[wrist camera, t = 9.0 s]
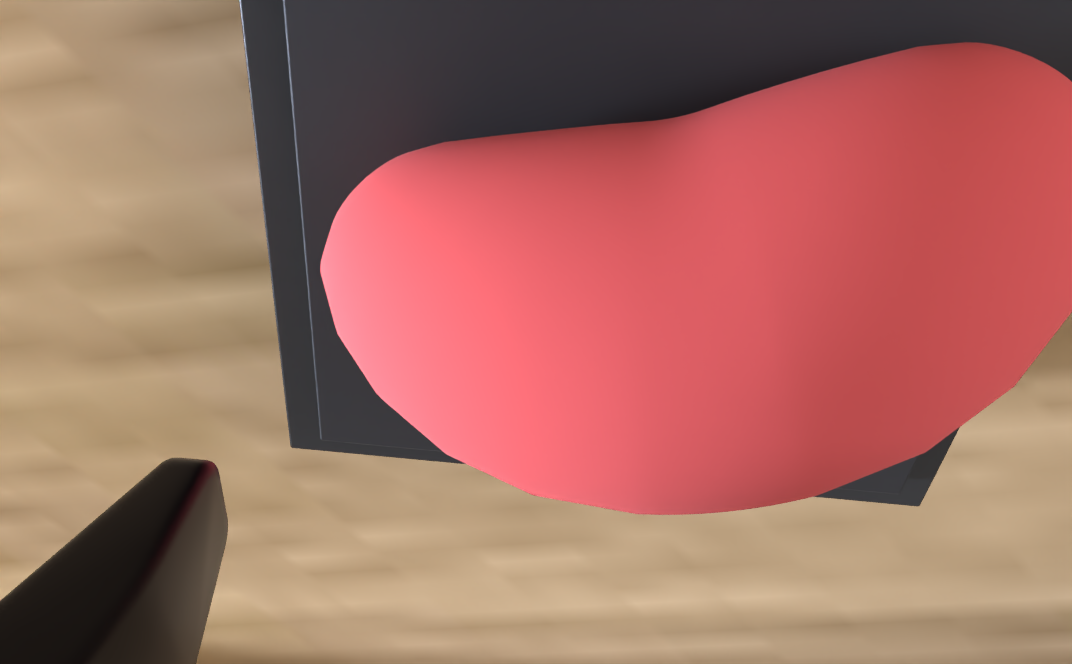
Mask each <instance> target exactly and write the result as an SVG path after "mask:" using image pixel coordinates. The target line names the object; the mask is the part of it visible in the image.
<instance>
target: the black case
mask: <svg viewBox="0 0 1072 664" xmlns="http://www.w3.org/2000/svg"><path fill="white" fill-rule="evenodd" d="M239 2H240V11H241V20H242V28H243V37H244V46H245V54H246V63H247V72H248V80H249V89H250V98H251V107H252V115H253V124H254V133H255V141H256V150H257V159H258V167H259V176H260V185H261V193H262V202H263V211H264V219H265V228H266V237H267V246H268V254H269V263H270V272H271V280H272V289H273V298H274V306H275V315H276V324H277V332H278V341H279V350H280V358H281V367H282V376H283V385H284V393H285V402H286V411H287V419H288V428H289V437H290V445H291V447H292V448H300V449H311V450H321V451H332V452H343V453H353V454H364V455H375V456H386V457H396V458H407V459H418V460H428V461H439V462H450V463H460V464H466V463H464V462H462V461H459V460H457V459H455V458H453V457H451V456H449V455H447V454H445V453H444V452H443V451H442V450H441V449H439V448H438V447H437V446H436V445H435V444H434V443H432V442H431V441H430V440H429V439H428V438H427V437H425V436H424V435H423V434H422V433H421V432H420V431H418V430H417V429H416V428H415V427H414V426H413V425H411V424H410V423H409V422H408V421H407V420H406V419H404V418H403V417H402V416H401V415H400V414H399V413H397V412H396V411H395V410H394V409H393V408H392V407H390V406H389V405H388V404H387V403H386V402H385V401H383V400H382V399H381V398H380V397H379V395H378V394H377V393H376V392H375V391H374V389H373V388H372V386H371V384H370V383H369V381H368V380H367V378H366V377H365V375H364V374H363V372H362V371H361V369H360V368H359V366H358V365H357V363H356V361H355V360H354V358H353V357H352V355H351V354H350V352H349V351H348V349H347V348H346V346H345V345H344V343H343V342H342V340H341V338H340V337H339V335H338V334H337V330H336V327H335V324H334V320H333V317H332V313H331V309H330V306H329V302H328V298H327V295H326V291H325V287H324V283H323V280H322V276H321V272H320V269H321V259H322V256H323V252H324V248H325V245H326V242H327V239H328V236H329V233H330V229H331V226H332V223H333V220H334V218H335V216H336V214H337V212H338V210H339V209H340V207H341V205H342V204H343V202H344V201H345V200H346V198H347V197H348V196H349V194H350V193H351V192H352V191H353V190H354V189H355V188H356V187H357V186H358V185H359V184H360V183H361V182H362V181H363V180H364V179H365V178H366V177H367V176H368V175H370V174H371V173H372V172H373V171H375V170H376V169H377V168H379V167H380V166H382V165H383V164H385V163H386V162H388V161H390V160H392V159H394V158H395V157H397V156H400V155H402V154H405V153H408V152H411V151H414V150H418V149H421V148H425V147H428V146H432V145H435V144H439V143H443V142H449V141H457V140H465V139H473V138H481V137H489V136H498V135H507V134H517V133H526V132H535V131H545V130H555V129H564V128H575V127H585V126H595V125H606V124H618V123H631V122H644V121H655V120H663V119H669V118H674V117H679V116H684V115H687V114H691V113H695V112H698V111H701V110H704V109H707V108H710V107H713V106H716V105H719V104H721V103H724V102H727V101H730V100H733V99H736V98H739V97H742V96H745V95H748V94H751V93H754V92H757V91H760V90H763V89H767V88H770V87H773V86H776V85H779V84H782V83H786V82H789V81H792V80H796V79H799V78H802V77H806V76H809V75H813V74H816V73H819V72H823V71H826V70H830V69H833V68H837V67H841V66H844V65H848V64H852V63H855V62H859V61H862V60H866V59H870V58H874V57H878V56H882V55H886V54H890V53H894V52H898V51H902V50H906V49H910V48H914V47H919V46H928V45H939V44H951V43H964V42H973V43H985V44H992V45H996V46H1001V47H1005V48H1008V49H1012V50H1015V51H1018V52H1021V53H1023V54H1026V55H1028V56H1031V57H1033V58H1035V59H1037V60H1039V61H1041V62H1044V63H1046V64H1047V65H1049V66H1051V67H1052V68H1054V69H1056V70H1057V71H1059V72H1060V73H1062V74H1063V75H1064V76H1065V77H1067V78H1068V79H1069V80H1070V81H1071V82H1072V0H239ZM958 429H959V428H958ZM958 429H956V430H955V431H954V432H952V433H951V434H949V435H948V436H947V437H945V438H944V439H943V440H941V441H940V442H939V443H937V444H936V445H935V446H933V447H932V448H931V449H929V450H928V451H927V452H925V453H923V454H920V455H918V456H915V457H913V458H910V459H908V460H905V461H903V462H900V463H898V464H895V465H893V466H890V467H888V468H885V469H883V470H880V471H878V472H875V473H873V474H870V475H868V476H865V477H863V478H860V479H858V480H855V481H853V482H850V483H848V484H845V485H843V486H840V487H838V488H835V489H833V490H830V491H828V492H825V493H823V494H820V495H817V496H813V497H824V498H835V499H845V500H856V501H867V502H878V503H888V504H899V505H910V506H919V505H920V504H921V502H922V500H923V498H924V496H925V494H926V492H927V490H928V488H929V486H930V484H931V482H932V480H933V479H934V477H935V475H936V473H937V471H938V469H939V467H940V465H941V463H942V461H943V459H944V457H945V455H946V453H947V451H948V449H949V447H950V445H951V443H952V441H953V439H954V437H955V435H956V433H957V431H958Z"/></svg>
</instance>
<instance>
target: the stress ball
mask: <svg viewBox="0 0 1072 664" xmlns="http://www.w3.org/2000/svg"><path fill="white" fill-rule="evenodd" d="M320 272H321V276H322V280H323V283H324V287H325V291H326V295H327V298H328V302H329V306H330V309H331V313H332V317H333V320H334V324H335V327H336V330H337V334H338V335H339V337H340V338H341V340H342V342H343V343H344V345H345V346H346V348H347V349H348V351H349V352H350V354H351V355H352V357H353V358H354V360H355V361H356V363H357V365H358V366H359V368H360V369H361V371H362V372H363V374H364V375H365V377H366V378H367V380H368V381H369V383H370V384H371V386H372V388H373V389H374V391H375V392H376V393H377V394H378V395H379V397H380V398H381V399H382V400H383V401H385V402H386V403H387V404H388V405H389V406H390V407H392V408H393V409H394V410H395V411H396V412H397V413H399V414H400V415H401V416H402V417H403V418H404V419H406V420H407V421H408V422H409V423H410V424H411V425H413V426H414V427H415V428H416V429H417V430H418V431H420V432H421V433H422V434H423V435H424V436H425V437H427V438H428V439H429V440H430V441H431V442H432V443H434V444H435V445H436V446H437V447H438V448H439V449H441V450H442V451H443V452H444V453H445V454H447V455H449V456H451V457H453V458H455V459H457V460H459V461H462V462H464V463H466V464H468V465H470V466H472V467H474V468H476V469H479V470H481V471H483V472H485V473H487V474H489V475H491V476H493V477H495V478H498V479H500V480H502V481H504V482H506V483H508V484H510V485H512V486H515V487H517V488H519V489H521V490H523V491H525V492H527V493H529V494H532V495H534V496H540V497H545V498H551V499H557V500H562V501H568V502H573V503H579V504H584V505H590V506H596V507H601V508H607V509H612V510H618V511H623V512H629V513H635V514H654V515H678V514H703V513H716V512H728V511H736V510H744V509H752V508H758V507H764V506H771V505H776V504H781V503H786V502H791V501H796V500H800V499H805V498H809V497H813V496H817V495H820V494H823V493H825V492H828V491H830V490H833V489H835V488H838V487H840V486H843V485H845V484H848V483H850V482H853V481H855V480H858V479H860V478H863V477H865V476H868V475H870V474H873V473H875V472H878V471H880V470H883V469H885V468H888V467H890V466H893V465H895V464H898V463H900V462H903V461H905V460H908V459H910V458H913V457H915V456H918V455H920V454H923V453H925V452H927V451H928V450H929V449H931V448H932V447H933V446H935V445H936V444H937V443H939V442H940V441H941V440H943V439H944V438H945V437H947V436H948V435H949V434H951V433H952V432H954V431H955V430H956V429H958V428H959V427H960V426H962V425H963V424H964V423H966V422H967V421H968V420H970V419H971V418H972V417H974V416H975V415H976V414H978V413H979V412H980V411H982V410H983V409H984V408H986V407H987V406H988V405H990V404H991V403H992V402H994V401H995V400H996V399H998V398H999V397H1000V396H1002V395H1003V394H1005V393H1006V392H1007V391H1009V390H1010V389H1011V388H1013V387H1014V386H1015V385H1016V383H1017V382H1018V381H1019V380H1020V378H1021V377H1022V376H1023V374H1024V373H1025V372H1026V371H1027V369H1028V368H1029V367H1030V365H1031V364H1032V363H1033V361H1034V360H1035V359H1036V358H1037V356H1038V355H1039V354H1040V352H1041V351H1042V350H1043V349H1044V347H1045V346H1046V345H1047V343H1048V342H1049V341H1050V339H1051V338H1052V337H1053V336H1054V334H1055V333H1056V332H1057V330H1058V329H1059V328H1060V327H1061V325H1062V324H1063V323H1064V321H1065V320H1066V319H1067V317H1068V316H1069V315H1070V314H1071V312H1072V82H1071V81H1070V80H1069V79H1068V78H1067V77H1065V76H1064V75H1063V74H1062V73H1060V72H1059V71H1057V70H1056V69H1054V68H1052V67H1051V66H1049V65H1047V64H1046V63H1044V62H1041V61H1039V60H1037V59H1035V58H1033V57H1031V56H1028V55H1026V54H1023V53H1021V52H1018V51H1015V50H1012V49H1008V48H1005V47H1001V46H996V45H992V44H985V43H973V42H964V43H951V44H939V45H928V46H919V47H914V48H910V49H906V50H902V51H898V52H894V53H890V54H886V55H882V56H878V57H874V58H870V59H866V60H862V61H859V62H855V63H852V64H848V65H844V66H841V67H837V68H833V69H830V70H826V71H823V72H819V73H816V74H813V75H809V76H806V77H802V78H799V79H796V80H792V81H789V82H786V83H782V84H779V85H776V86H773V87H770V88H767V89H763V90H760V91H757V92H754V93H751V94H748V95H745V96H742V97H739V98H736V99H733V100H730V101H727V102H724V103H721V104H719V105H716V106H713V107H710V108H707V109H704V110H701V111H698V112H695V113H691V114H687V115H684V116H679V117H674V118H669V119H663V120H655V121H644V122H631V123H618V124H606V125H595V126H585V127H575V128H564V129H555V130H545V131H535V132H526V133H517V134H507V135H498V136H489V137H481V138H473V139H465V140H457V141H449V142H443V143H439V144H435V145H432V146H428V147H425V148H421V149H418V150H414V151H411V152H408V153H405V154H402V155H400V156H397V157H395V158H394V159H392V160H390V161H388V162H386V163H385V164H383V165H382V166H380V167H379V168H377V169H376V170H375V171H373V172H372V173H371V174H370V175H368V176H367V177H366V178H365V179H364V180H363V181H362V182H361V183H360V184H359V185H358V186H357V187H356V188H355V189H354V190H353V191H352V192H351V193H350V194H349V196H348V197H347V198H346V200H345V201H344V202H343V204H342V205H341V207H340V209H339V210H338V212H337V214H336V216H335V218H334V220H333V223H332V226H331V229H330V233H329V236H328V239H327V242H326V245H325V248H324V252H323V256H322V259H321V269H320Z"/></svg>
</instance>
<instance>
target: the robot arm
mask: <svg viewBox="0 0 1072 664" xmlns="http://www.w3.org/2000/svg"><path fill="white" fill-rule="evenodd" d="M227 532H228V519H227V513H226V508H225V502H224V497H223V492H222V486H221V481H220V476H219V472H218V469H217V467H216V465H215V464H214V463H213V462H211V461H208V460H198V459H187V458H171V459H168V460H166V461H164V462H162V463H161V464H160V465H159V466H157V467H156V468H155V469H154V470H153V471H152V472H150V473H149V474H148V475H147V476H146V477H145V478H143V479H142V480H141V481H140V482H139V483H138V484H136V485H135V486H134V487H133V488H132V489H131V490H129V491H128V492H127V493H126V494H125V495H124V496H122V497H121V498H120V499H119V500H118V501H117V502H115V503H114V504H113V505H112V506H111V507H110V508H108V509H107V510H106V511H105V512H104V513H102V514H101V515H100V516H99V517H98V518H97V519H95V520H94V521H93V522H92V523H91V524H90V525H88V526H87V527H86V528H85V529H84V530H83V531H81V532H80V533H79V534H78V535H77V536H76V537H74V538H73V539H72V540H71V541H70V542H69V543H67V544H66V545H65V546H64V547H63V548H62V549H60V550H59V551H58V552H57V553H56V554H55V555H53V556H52V557H51V558H50V559H49V560H48V561H46V562H45V563H44V564H43V565H42V566H41V567H39V568H38V569H37V570H36V571H35V572H33V573H32V574H31V575H30V576H29V577H28V578H26V579H25V580H24V581H23V582H22V583H21V584H19V585H18V586H17V587H16V588H15V589H14V590H12V591H11V592H10V593H9V594H8V595H7V596H5V597H4V598H3V599H2V600H1V601H0V664H196V662H197V658H198V654H199V650H200V646H201V642H202V638H203V634H204V630H205V626H206V622H207V618H208V614H209V610H210V606H211V602H212V597H213V593H214V589H215V585H216V581H217V577H218V573H219V569H220V565H221V561H222V557H223V553H224V549H225V545H226V540H227Z"/></svg>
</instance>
